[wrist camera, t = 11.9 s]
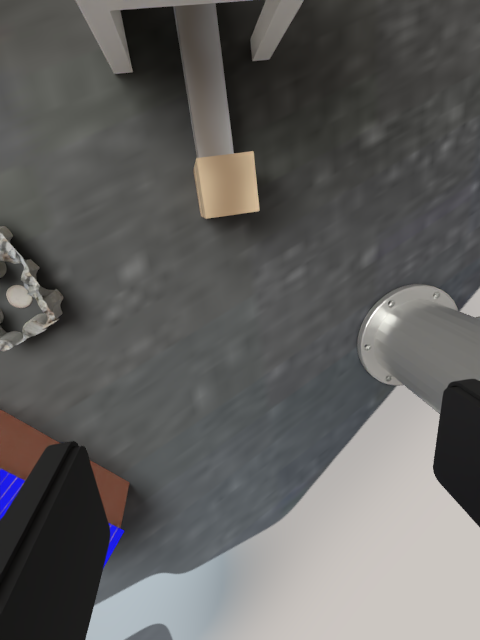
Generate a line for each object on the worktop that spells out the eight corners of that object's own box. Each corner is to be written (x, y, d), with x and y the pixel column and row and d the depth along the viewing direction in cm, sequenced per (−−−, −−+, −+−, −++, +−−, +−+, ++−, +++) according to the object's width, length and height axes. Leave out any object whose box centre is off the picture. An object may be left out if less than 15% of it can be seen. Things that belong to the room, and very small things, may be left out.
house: (72, 541, 42) (32, 659, 31) (-92, 466, 35) (-217, 584, 24) (133, 480, 40) (115, 582, 29) (-25, 390, 33) (-126, 478, 22)
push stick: (213, -25, 26) (225, -120, 18) (241, 209, 32) (259, 211, 24) (162, -21, 25) (152, -117, 18) (200, 215, 31) (205, 218, 24)
